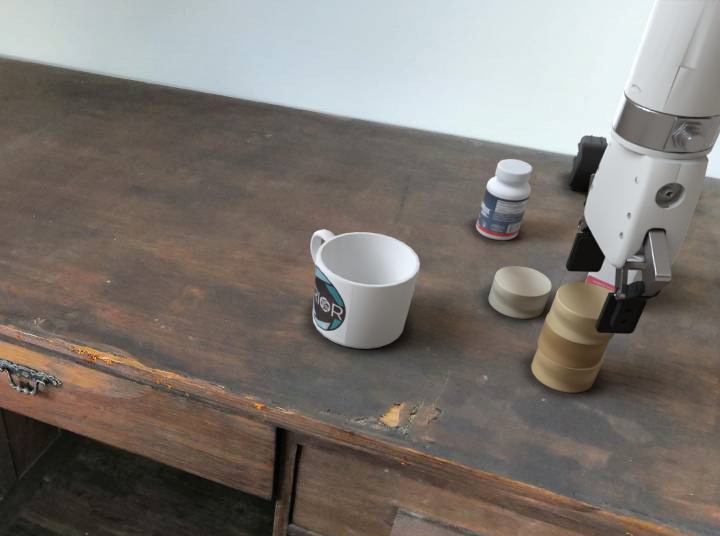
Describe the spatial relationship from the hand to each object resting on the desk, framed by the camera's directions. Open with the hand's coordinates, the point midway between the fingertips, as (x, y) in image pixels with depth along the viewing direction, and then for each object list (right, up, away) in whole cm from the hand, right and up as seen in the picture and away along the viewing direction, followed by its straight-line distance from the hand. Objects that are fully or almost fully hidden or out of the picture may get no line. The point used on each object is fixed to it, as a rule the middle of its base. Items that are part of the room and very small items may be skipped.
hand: (596, 299), depth 72 cm
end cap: (+18, +19, +35) cm, 44 cm away
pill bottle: (+1, +12, +27) cm, 29 cm away
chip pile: (-1, -7, +6) cm, 9 cm away
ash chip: (-2, +1, +15) cm, 15 cm away
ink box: (+11, +3, +18) cm, 21 cm away
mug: (-21, 0, +13) cm, 25 cm away
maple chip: (-1, -2, +2) cm, 3 cm away
